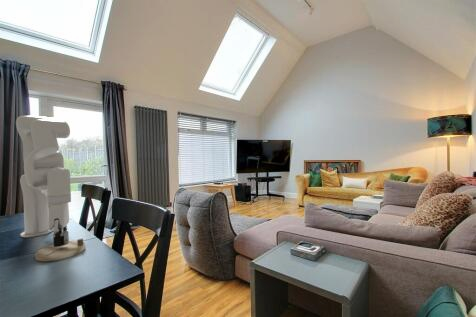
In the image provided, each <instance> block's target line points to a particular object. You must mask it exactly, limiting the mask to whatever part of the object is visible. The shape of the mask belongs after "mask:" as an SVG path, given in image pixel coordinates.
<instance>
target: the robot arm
mask: <svg viewBox="0 0 476 317" xmlns="http://www.w3.org/2000/svg"><path fill="white" fill-rule="evenodd" d="M15 126H16V130H17V133H18V135H19V137H20V139H21V141H22V156H23V157H22V158H23V160H22V161H23V171H24V172H23V173H24V174H22V175H21V176H20V179H19V183H20V187H21V191H22V197H23V198H22V201H23V221H24V222H23V223H24V231H23V232H21V233H20V237H21V238H35V237H38V236H43V235H46V234H50V233H51V232H53V234H54V247H58V246H63V245H64V235H63V231H68V224H69V222H70V210H69V209H70V208H69V207H70V206H69V203H71V202H72V194H71V189H72V188H71V171H70V170H69V169H67V168H65V161H64V155H63V153H62V152H60V151H59V150H60V146H59V142H58V139H67V138H69V137H70V134H71V129H70V125H69V124H68V123H67V121H65V120H63V119H62V118H58V117H47V116H40V115H39V116H38V115H20V116H18V117H17V118H16V121H15ZM44 190H46V194H47V195H46V194H45V193H44V192H43V191H44ZM48 205H50V207H48Z"/></svg>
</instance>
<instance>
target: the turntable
mask: <svg viewBox="0 0 476 317" xmlns="http://www.w3.org/2000/svg"><path fill="white" fill-rule="evenodd" d="M85 248H86V243H85V242H84V238H79V239H77V240H69V243H68V244H66V245H64V246H59V247H54V246H53V244H51V245H48V246H45V247H42V248H40V249H39V250H37V251H36V252H35V254H34V255H35V256H34V257H35V260H36V261H38V262H54V261H59V260H63V259H67V258H70V257H73V256H76V255H78V254H80V253H81V252H83V251H84V250H85Z"/></svg>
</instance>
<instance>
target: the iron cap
mask: <svg viewBox="0 0 476 317" xmlns="http://www.w3.org/2000/svg"><path fill="white" fill-rule="evenodd" d="M63 235H64V245H66V244H68V243H69V241H70V240H69V236H70V235H69V231H68V230H67V231H63ZM52 245H53V246H54V233H53V234H52ZM64 245H63V246H64ZM58 247H59V246H58Z"/></svg>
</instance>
